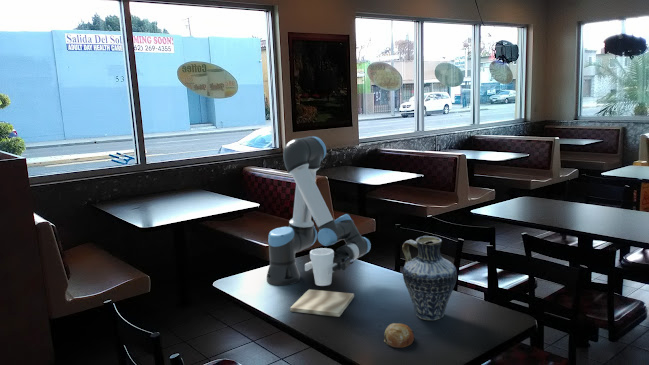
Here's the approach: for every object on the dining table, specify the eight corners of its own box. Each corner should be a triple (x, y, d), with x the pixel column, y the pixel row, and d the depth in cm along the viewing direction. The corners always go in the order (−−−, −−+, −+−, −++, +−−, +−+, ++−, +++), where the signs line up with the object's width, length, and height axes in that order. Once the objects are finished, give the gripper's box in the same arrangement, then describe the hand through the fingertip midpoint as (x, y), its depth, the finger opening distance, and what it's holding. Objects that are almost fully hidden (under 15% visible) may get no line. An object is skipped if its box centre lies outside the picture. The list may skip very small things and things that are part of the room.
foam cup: (336, 278, 215) (334, 248, 213) (334, 287, 206) (332, 254, 203) (312, 279, 216) (311, 248, 214) (310, 287, 207) (308, 255, 204)
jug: (463, 311, 201) (463, 234, 195) (447, 332, 184) (447, 248, 179) (411, 302, 211) (411, 229, 206) (392, 321, 195) (391, 242, 189)
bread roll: (383, 346, 183) (374, 328, 181) (407, 329, 186) (398, 311, 183) (397, 359, 174) (388, 341, 172) (422, 341, 176) (413, 323, 174)
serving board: (290, 311, 206) (290, 307, 206) (308, 292, 225) (308, 289, 225) (339, 316, 200) (339, 313, 200) (354, 297, 218) (353, 293, 218)
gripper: (369, 266, 218) (340, 283, 200) (325, 259, 231) (294, 274, 213) (369, 248, 217) (339, 264, 199) (324, 242, 230) (292, 256, 212)
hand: (316, 269), depth 206 cm, fingers closed on foam cup, 9 cm apart
